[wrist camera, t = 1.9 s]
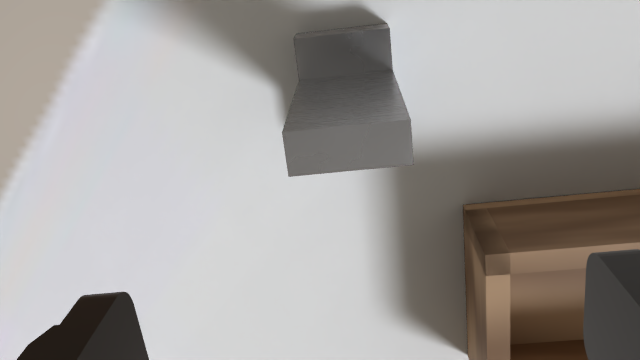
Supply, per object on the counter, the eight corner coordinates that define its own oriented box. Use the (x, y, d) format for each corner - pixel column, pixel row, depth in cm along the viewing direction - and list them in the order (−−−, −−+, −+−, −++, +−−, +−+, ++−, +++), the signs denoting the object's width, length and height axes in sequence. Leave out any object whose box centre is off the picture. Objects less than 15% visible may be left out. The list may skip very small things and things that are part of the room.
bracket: (296, 33, 26) (273, 77, 18) (387, 23, 26) (407, 62, 18) (310, 141, 28) (295, 225, 20) (395, 132, 28) (416, 214, 20)
